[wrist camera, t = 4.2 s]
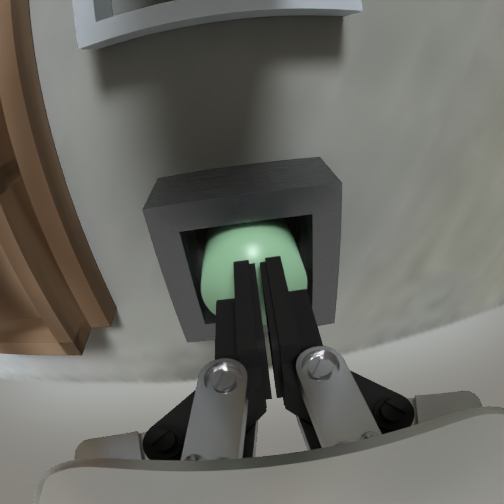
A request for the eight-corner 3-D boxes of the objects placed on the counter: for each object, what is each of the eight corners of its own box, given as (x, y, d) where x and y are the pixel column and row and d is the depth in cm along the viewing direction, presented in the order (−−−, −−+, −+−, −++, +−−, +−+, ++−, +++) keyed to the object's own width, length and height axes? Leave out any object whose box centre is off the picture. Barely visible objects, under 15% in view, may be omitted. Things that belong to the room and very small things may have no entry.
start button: (291, 200, 13) (306, 237, 11) (294, 274, 16) (307, 319, 13) (196, 212, 13) (190, 252, 11) (213, 285, 16) (211, 331, 13)
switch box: (319, 157, 13) (342, 183, 11) (319, 283, 17) (334, 322, 15) (158, 178, 13) (142, 209, 11) (191, 300, 17) (187, 342, 15)
